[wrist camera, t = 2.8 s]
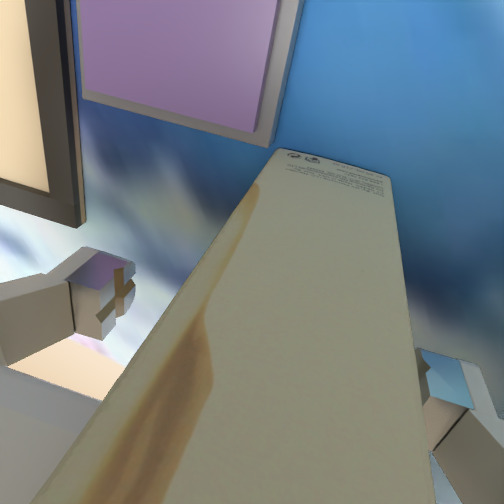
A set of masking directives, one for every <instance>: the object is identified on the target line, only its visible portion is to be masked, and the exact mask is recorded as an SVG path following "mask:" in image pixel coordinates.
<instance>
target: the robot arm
mask: <svg viewBox="0 0 504 504" xmlns="http://www.w3.org/2000/svg"><path fill="white" fill-rule="evenodd" d="M135 273H136V272H135V263H134V262H133V261H131V260H128V259H125V258H122V257H119V256H116V255H113V254H110V253H107V252H103V251H100V250H97V249H93V248H90V247H82V248H80V249H79V250H78V251H76V252H75V253H74V254H72V255H71V256H70V257H68V258H67V259H66V260H65V261H63V262H62V263H61V264H59V265H58V266H57V267H55V268H54V269H53V270H51V271H50V272H49V273H47V274H46V275H45V274H42V273H40V274H36V275H32V276H28V277H24V278H20V279H16V280H12V281H8V282H4V283H0V504H30V502H31V501H32V499H33V498H34V497H35V495H36V494H37V493H38V491H39V490H40V489H41V487H42V486H43V485H44V483H45V482H46V481H47V479H48V478H49V477H50V475H51V474H52V473H53V471H54V470H55V468H56V467H57V465H58V464H59V463H60V461H61V460H62V458H63V457H64V455H65V454H66V453H67V451H68V450H69V448H70V447H71V446H72V444H73V443H74V441H75V440H76V438H77V437H78V436H79V434H80V433H81V431H82V430H83V428H84V427H85V425H86V424H87V423H88V421H89V420H90V418H91V417H92V415H93V414H94V413H95V411H96V410H97V408H98V407H99V405H100V404H101V403H102V401H101V400H98V399H95V398H92V397H90V396H87V395H84V394H81V393H78V392H76V391H73V390H70V389H67V388H64V387H61V386H58V385H56V384H53V383H50V382H47V381H44V380H42V379H39V378H36V377H33V376H30V375H28V374H25V373H22V372H19V371H16V370H13V369H10V368H8V367H7V366H9V365H11V364H13V363H15V362H18V361H20V360H22V359H24V358H26V357H28V356H30V355H32V354H34V353H36V352H38V351H40V350H42V349H44V348H46V347H48V346H50V345H52V344H54V343H57V342H58V341H61V340H63V339H65V338H67V337H69V336H71V335H73V334H74V332H75V333H78V334H82V335H85V336H88V337H92V338H95V339H98V340H102V341H103V339H104V338H105V337H106V336H107V335H108V334H109V332H110V331H111V330H112V329H113V328H114V326H115V325H116V318H117V317H120V316H122V315H124V314H125V313H126V312H127V311H128V309H129V308H130V306H131V304H132V302H133V300H134V296H135V284H134V282H133V280H132V279H131V278H132V276H133V275H134V274H135ZM414 351H415V356H416V362H417V370H418V378H419V385H420V392H421V400H422V407H423V413H424V419H425V426H426V434H427V442H428V450H429V451H432V452H433V453H432V454H433V455H434V457H435V459H436V460H437V462H438V464H439V465H440V467H441V469H442V470H443V472H444V474H445V475H446V477H447V479H448V480H449V482H450V484H451V485H452V487H453V489H454V490H455V492H456V494H457V495H458V497H459V499H460V500H461V502H462V504H504V420H502V419H499V418H498V416H497V413H496V410H495V408H494V405H493V402H492V399H491V397H490V394H489V391H488V389H487V386H486V383H485V381H484V378H483V375H482V373H481V370H480V368H479V367H478V366H477V365H476V364H474V363H470V362H466V361H463V360H459V359H454V358H451V357H447V356H444V355H441V354H437V353H434V352H431V351H427V350H424V349H421V348H416V349H415V350H414Z"/></svg>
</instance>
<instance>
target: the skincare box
mask: <svg viewBox="0 0 504 504" xmlns="http://www.w3.org/2000/svg"><path fill="white" fill-rule="evenodd" d="M30 504H436V499H435V492H434V485H433V478H432V471H431V465H430V458H429V450H428V442H427V434H426V426H425V419H424V413H423V407H422V400H421V392H420V385H419V378H418V370H417V362H416V356H415V351H414V343H413V336H412V329H411V322H410V316H409V309H408V302H407V295H406V288H405V280H404V273H403V266H402V258H401V251H400V244H399V238H398V230H397V223H396V216H395V209H394V201H393V194H392V186H391V180H390V178H389V177H387V176H385V175H381V174H378V173H375V172H371V171H368V170H364V169H361V168H358V167H354V166H351V165H347V164H344V163H340V162H336V161H333V160H329V159H325V158H322V157H318V156H314V155H309V154H305V153H300V152H296V151H291V150H287V149H282V148H279V149H276V150H275V152H274V153H273V155H272V156H271V158H270V159H269V160H268V162H267V163H266V165H265V166H264V168H263V169H262V171H261V172H260V174H259V175H258V177H257V178H256V180H255V181H254V183H253V184H252V186H251V187H250V189H249V190H248V191H247V193H246V194H245V196H244V197H243V199H242V200H241V201H240V203H239V204H238V206H237V207H236V208H235V210H234V211H233V213H232V214H231V216H230V217H229V219H228V220H227V222H226V223H225V225H224V226H223V227H222V229H221V230H220V232H219V233H218V235H217V236H216V238H215V239H214V240H213V242H212V243H211V245H210V246H209V248H208V249H207V251H206V252H205V254H204V255H203V256H202V258H201V259H200V261H199V262H198V264H197V265H196V267H195V268H194V269H193V271H192V272H191V274H190V275H189V277H188V278H187V280H186V281H185V282H184V284H183V285H182V287H181V288H180V290H179V291H178V293H177V294H176V296H175V297H174V298H173V300H172V301H171V303H170V304H169V306H168V307H167V309H166V310H165V312H164V313H163V314H162V316H161V317H160V319H159V320H158V322H157V323H156V325H155V326H154V328H153V329H152V331H151V332H150V333H149V335H148V336H147V338H146V339H145V340H144V342H143V343H142V345H141V346H140V348H139V349H138V350H137V352H136V353H135V355H134V356H133V358H132V359H131V361H130V362H129V364H128V365H127V367H126V368H125V370H124V372H123V373H122V374H121V376H120V377H119V378H118V379H117V381H116V382H115V383H114V385H113V386H112V388H111V389H110V391H109V392H108V394H107V395H106V397H105V399H104V400H103V401H102V403H101V404H100V405H99V407H98V408H97V410H96V411H95V413H94V414H93V415H92V417H91V418H90V420H89V421H88V423H87V424H86V425H85V427H84V428H83V430H82V431H81V433H80V434H79V436H78V437H77V438H76V440H75V441H74V443H73V444H72V446H71V447H70V448H69V450H68V451H67V453H66V454H65V455H64V457H63V458H62V460H61V461H60V463H59V464H58V465H57V467H56V468H55V470H54V471H53V473H52V474H51V475H50V477H49V478H48V479H47V481H46V482H45V483H44V485H43V486H42V487H41V489H40V490H39V491H38V493H37V494H36V495H35V497H34V498H33V499H32V501H31V502H30Z"/></svg>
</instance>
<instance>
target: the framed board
mask: <svg viewBox="0 0 504 504" xmlns="http://www.w3.org/2000/svg"><path fill="white" fill-rule="evenodd" d="M0 205H3V206H6V207H9V208H13V209H16V210H19V211H22V212H25V213H28V214H32V215H35V216H38V217H41V218H44V219H47V220H50V221H54V222H57V223H60V224H63V225H66V226H69V227H73V228H78V227H79V226H81V225H82V224H84V223H85V222H86V218H85V204H84V191H83V177H82V164H81V150H80V137H79V123H78V110H77V96H76V83H75V69H74V56H73V42H72V28H71V15H70V1H69V0H0Z"/></svg>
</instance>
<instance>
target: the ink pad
mask: <svg viewBox="0 0 504 504" xmlns="http://www.w3.org/2000/svg"><path fill="white" fill-rule="evenodd" d="M304 1H305V0H76V5H77V21H78V36H79V51H80V66H81V82H82V97H83V99H86V100H90V101H94V102H98V103H101V104H105V105H109V106H112V107H116V108H120V109H124V110H127V111H131V112H135V113H138V114H142V115H146V116H150V117H153V118H157V119H161V120H164V121H168V122H172V123H176V124H179V125H183V126H187V127H190V128H194V129H198V130H201V131H205V132H209V133H213V134H216V135H220V136H224V137H227V138H231V139H235V140H239V141H242V142H246V143H250V144H253V145H257V146H261V147H265V148H269V146H270V145H271V144H272V143H273V142H274V138H275V134H276V129H277V124H278V120H279V115H280V111H281V106H282V102H283V97H284V92H285V88H286V83H287V79H288V74H289V70H290V65H291V60H292V56H293V51H294V47H295V42H296V38H297V33H298V28H299V24H300V19H301V15H302V10H303V6H304Z"/></svg>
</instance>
